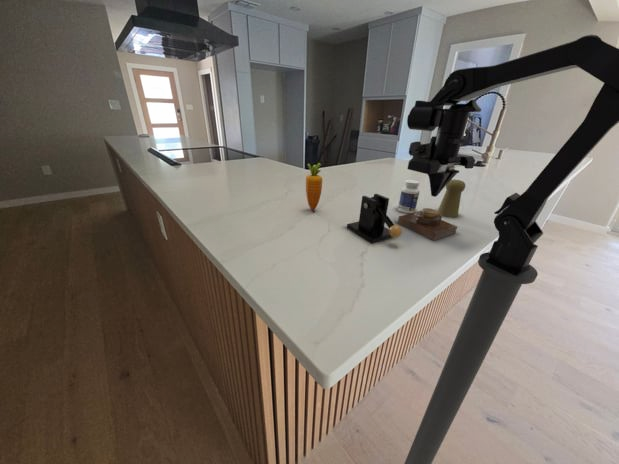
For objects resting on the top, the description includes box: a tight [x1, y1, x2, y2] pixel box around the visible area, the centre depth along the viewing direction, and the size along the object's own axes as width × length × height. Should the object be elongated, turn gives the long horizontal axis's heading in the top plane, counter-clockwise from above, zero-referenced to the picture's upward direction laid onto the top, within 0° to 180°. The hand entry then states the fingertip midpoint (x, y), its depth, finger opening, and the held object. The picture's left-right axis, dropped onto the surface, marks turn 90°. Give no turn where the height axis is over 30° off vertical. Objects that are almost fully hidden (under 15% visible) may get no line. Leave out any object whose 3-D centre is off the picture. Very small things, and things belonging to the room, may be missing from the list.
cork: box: [436, 179, 466, 219], centre depth 79 cm, size 6×6×11 cm
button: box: [421, 207, 438, 218], centre depth 69 cm, size 4×4×2 cm
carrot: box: [305, 162, 323, 212], centre depth 77 cm, size 5×5×15 cm
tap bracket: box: [346, 193, 394, 244], centre depth 65 cm, size 10×8×10 cm
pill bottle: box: [397, 179, 421, 214], centre depth 81 cm, size 5×5×10 cm
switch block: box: [397, 210, 458, 241], centre depth 70 cm, size 12×9×4 cm
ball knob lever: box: [370, 196, 403, 239], centre depth 62 cm, size 12×3×3 cm, turn 30°
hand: (433, 196), depth 67 cm, fingers closed
